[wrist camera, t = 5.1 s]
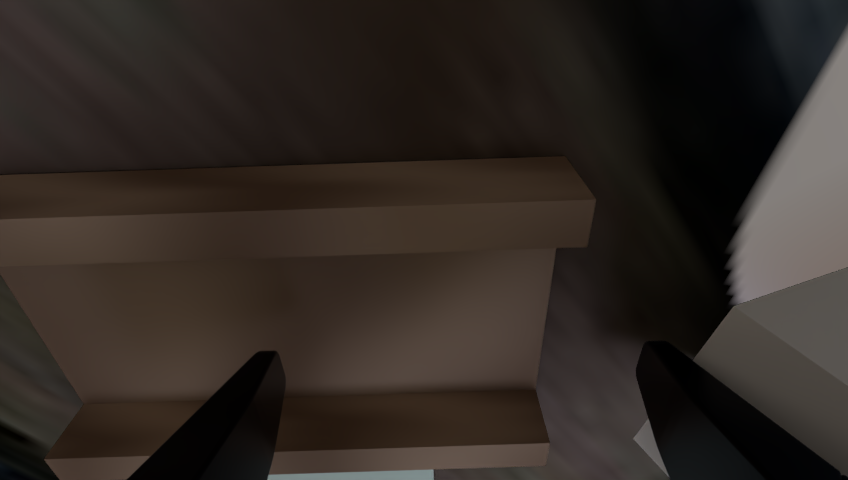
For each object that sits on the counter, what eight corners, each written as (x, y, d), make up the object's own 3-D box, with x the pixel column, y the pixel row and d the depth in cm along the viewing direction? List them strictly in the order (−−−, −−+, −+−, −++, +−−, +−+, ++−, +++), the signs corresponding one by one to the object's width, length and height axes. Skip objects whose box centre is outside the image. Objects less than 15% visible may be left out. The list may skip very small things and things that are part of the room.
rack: (103, 417, 14) (61, 481, 12) (-47, 176, 10) (-142, 224, 8) (530, 404, 14) (545, 466, 12) (565, 156, 10) (596, 199, 8)
